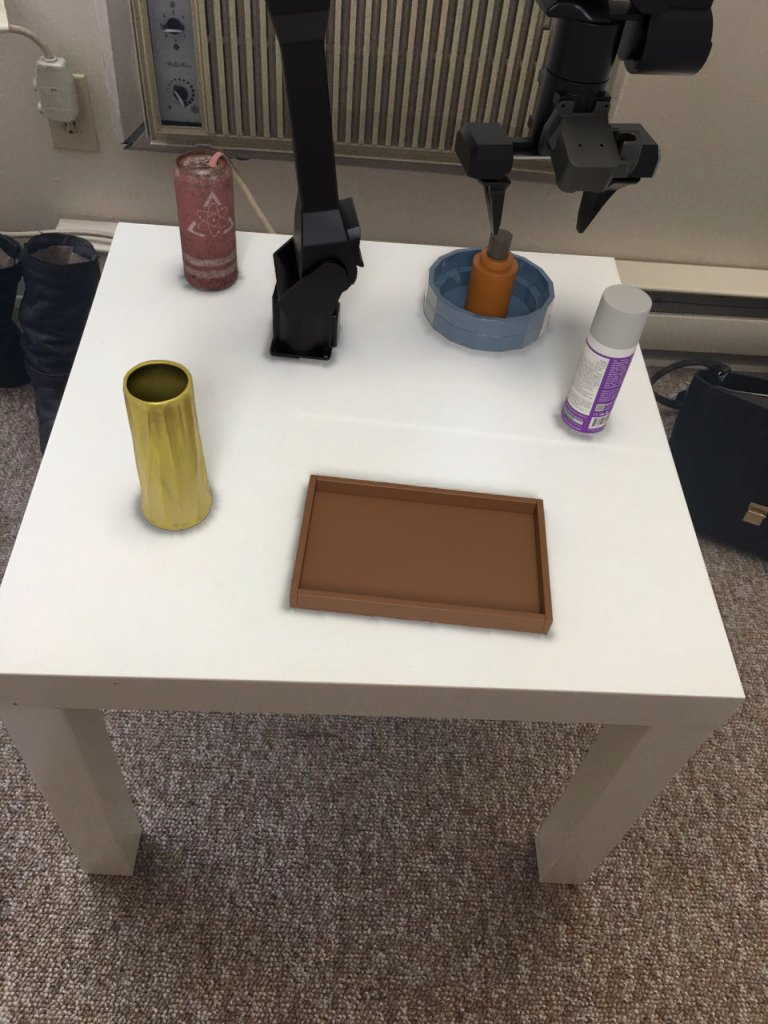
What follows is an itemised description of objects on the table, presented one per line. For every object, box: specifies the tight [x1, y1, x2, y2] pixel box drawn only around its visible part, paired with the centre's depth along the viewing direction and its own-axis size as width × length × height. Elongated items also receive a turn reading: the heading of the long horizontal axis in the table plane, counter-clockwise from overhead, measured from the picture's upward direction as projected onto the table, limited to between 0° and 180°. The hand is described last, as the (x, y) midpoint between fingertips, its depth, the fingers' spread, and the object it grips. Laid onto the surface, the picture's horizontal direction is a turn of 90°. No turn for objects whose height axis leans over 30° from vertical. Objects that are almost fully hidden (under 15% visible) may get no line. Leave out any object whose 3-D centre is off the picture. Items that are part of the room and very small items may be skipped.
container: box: [560, 283, 653, 436], centre depth 79 cm, size 5×5×15 cm
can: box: [172, 149, 239, 292], centre depth 91 cm, size 6×6×14 cm
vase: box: [122, 359, 213, 531], centre depth 68 cm, size 6×6×14 cm
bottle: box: [464, 228, 518, 318], centre depth 91 cm, size 5×5×10 cm
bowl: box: [423, 246, 556, 353], centre depth 94 cm, size 14×14×4 cm
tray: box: [289, 474, 554, 635], centre depth 71 cm, size 21×13×2 cm, turn 86°
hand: (537, 232), depth 84 cm, fingers open, 9 cm apart
